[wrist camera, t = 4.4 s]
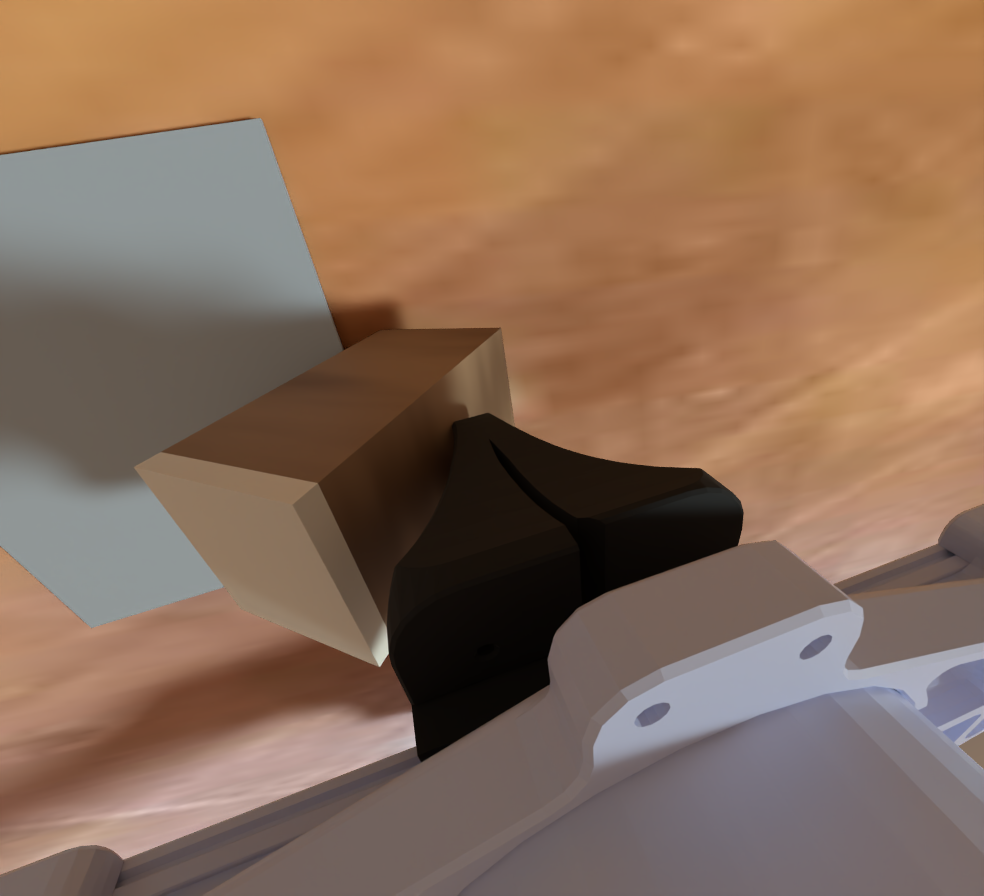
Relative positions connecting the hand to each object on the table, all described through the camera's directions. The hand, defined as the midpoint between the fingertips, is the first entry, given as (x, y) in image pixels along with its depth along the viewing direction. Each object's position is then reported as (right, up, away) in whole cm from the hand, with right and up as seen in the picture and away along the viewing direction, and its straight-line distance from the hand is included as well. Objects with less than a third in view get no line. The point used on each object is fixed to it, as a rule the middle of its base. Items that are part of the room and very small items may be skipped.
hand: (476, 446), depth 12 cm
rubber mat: (-12, +1, +3) cm, 12 cm away
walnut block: (-1, +2, +4) cm, 5 cm away
